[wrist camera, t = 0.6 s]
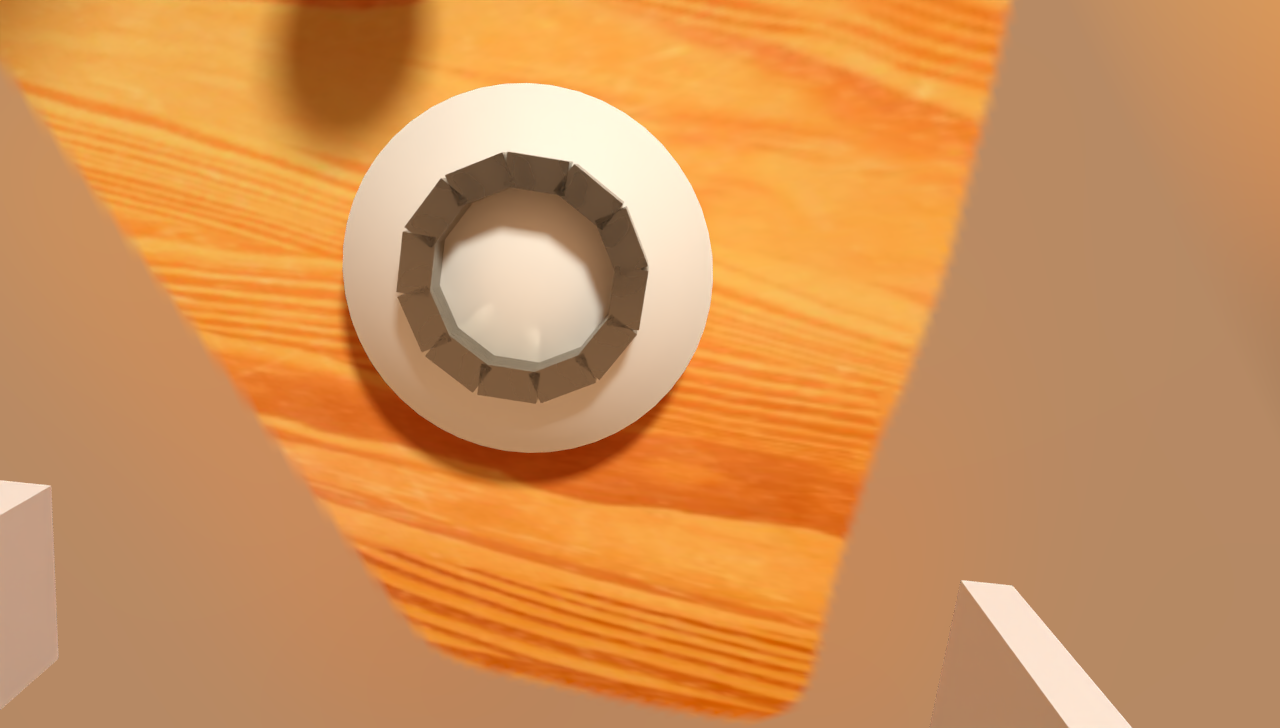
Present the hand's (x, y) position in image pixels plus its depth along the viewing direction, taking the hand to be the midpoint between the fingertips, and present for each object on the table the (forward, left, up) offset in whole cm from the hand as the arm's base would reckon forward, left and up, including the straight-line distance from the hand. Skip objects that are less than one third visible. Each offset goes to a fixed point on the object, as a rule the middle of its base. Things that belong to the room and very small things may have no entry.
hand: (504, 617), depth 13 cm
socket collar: (-3, -2, -22) cm, 22 cm away
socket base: (-3, -1, -24) cm, 24 cm away
